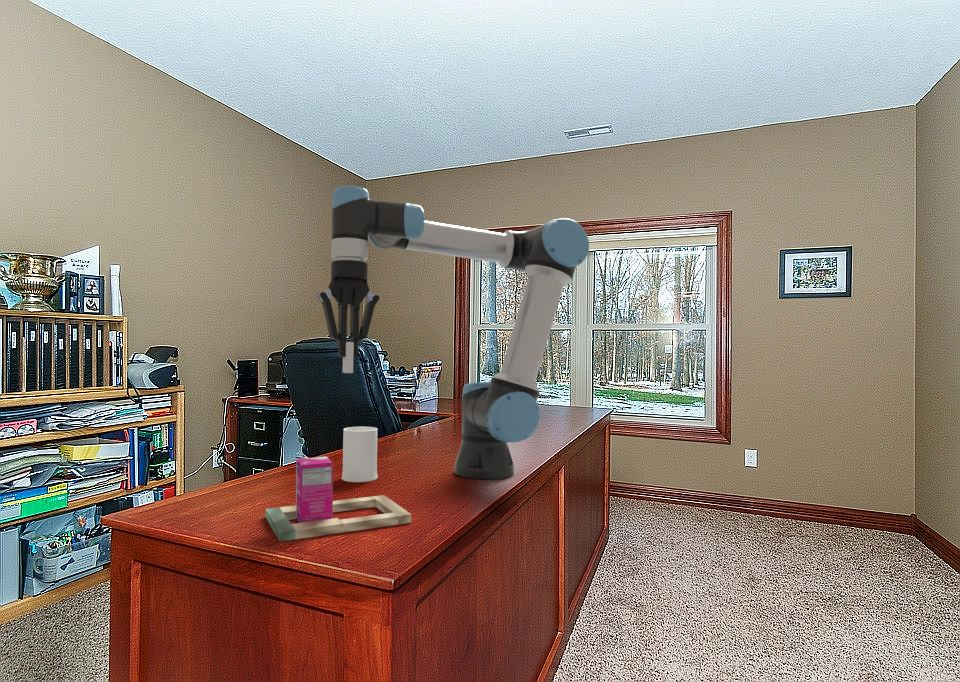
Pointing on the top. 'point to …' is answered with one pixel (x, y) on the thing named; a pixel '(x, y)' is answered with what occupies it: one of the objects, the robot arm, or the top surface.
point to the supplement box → (314, 489)
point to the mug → (359, 454)
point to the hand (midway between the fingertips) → (347, 372)
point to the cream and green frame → (289, 531)
